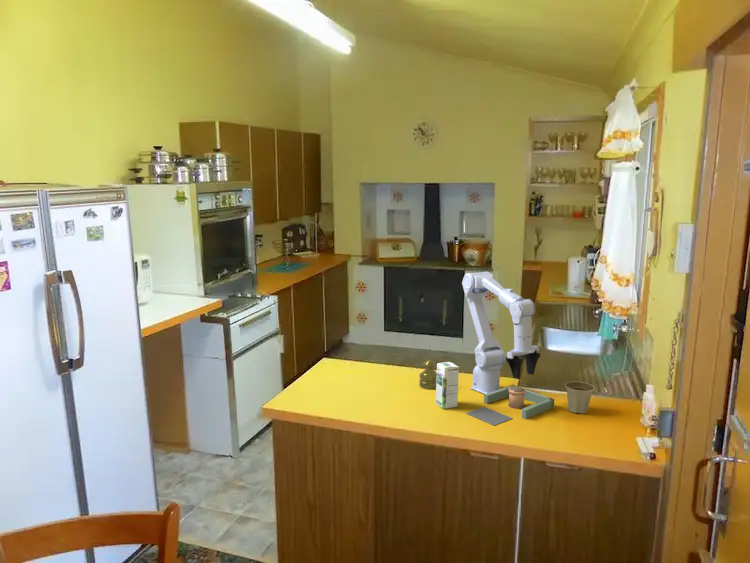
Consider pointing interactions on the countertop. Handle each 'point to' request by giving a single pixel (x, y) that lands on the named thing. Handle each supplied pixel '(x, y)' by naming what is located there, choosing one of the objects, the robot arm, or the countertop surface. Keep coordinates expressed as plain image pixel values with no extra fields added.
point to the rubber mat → (489, 416)
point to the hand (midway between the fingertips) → (523, 376)
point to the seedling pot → (516, 397)
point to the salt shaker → (428, 376)
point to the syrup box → (447, 385)
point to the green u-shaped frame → (540, 400)
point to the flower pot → (578, 396)
